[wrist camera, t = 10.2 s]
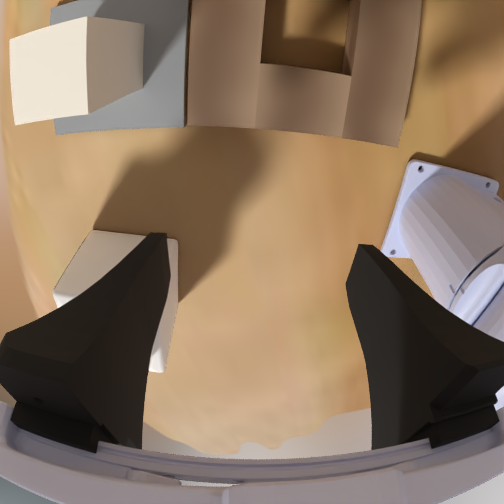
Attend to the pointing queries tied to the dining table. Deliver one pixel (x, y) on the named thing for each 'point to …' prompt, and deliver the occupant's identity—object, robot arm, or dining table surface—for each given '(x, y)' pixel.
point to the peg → (74, 67)
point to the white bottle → (101, 262)
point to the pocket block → (303, 73)
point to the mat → (154, 65)
